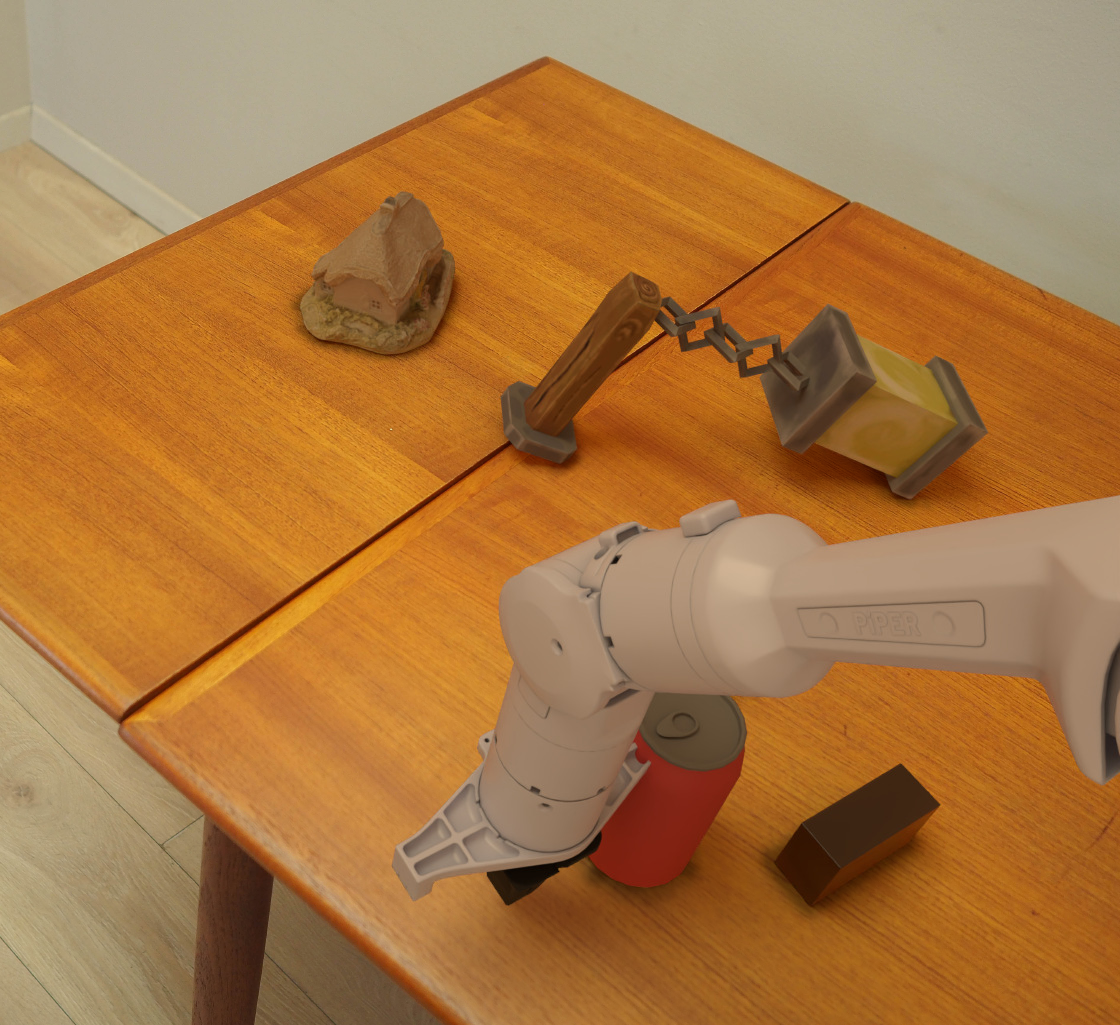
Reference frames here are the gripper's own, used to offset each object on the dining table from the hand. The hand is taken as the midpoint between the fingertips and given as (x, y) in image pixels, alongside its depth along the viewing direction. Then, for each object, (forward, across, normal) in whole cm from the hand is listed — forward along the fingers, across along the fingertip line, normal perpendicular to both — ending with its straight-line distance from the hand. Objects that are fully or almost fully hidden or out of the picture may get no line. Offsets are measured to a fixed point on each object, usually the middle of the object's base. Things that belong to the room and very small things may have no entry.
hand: (507, 884), depth 60 cm
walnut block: (+2, -19, +7) cm, 20 cm away
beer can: (+2, -9, 0) cm, 9 cm away
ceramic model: (+2, -20, -48) cm, 52 cm away
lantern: (+2, -35, -22) cm, 41 cm away
